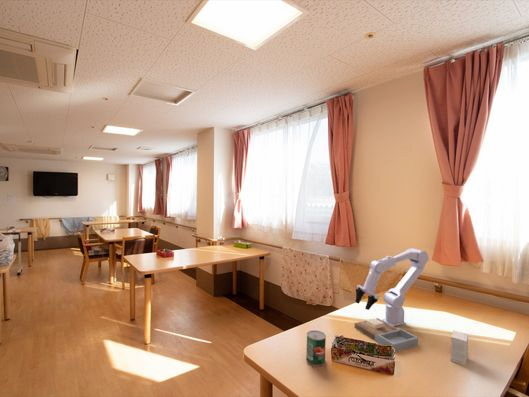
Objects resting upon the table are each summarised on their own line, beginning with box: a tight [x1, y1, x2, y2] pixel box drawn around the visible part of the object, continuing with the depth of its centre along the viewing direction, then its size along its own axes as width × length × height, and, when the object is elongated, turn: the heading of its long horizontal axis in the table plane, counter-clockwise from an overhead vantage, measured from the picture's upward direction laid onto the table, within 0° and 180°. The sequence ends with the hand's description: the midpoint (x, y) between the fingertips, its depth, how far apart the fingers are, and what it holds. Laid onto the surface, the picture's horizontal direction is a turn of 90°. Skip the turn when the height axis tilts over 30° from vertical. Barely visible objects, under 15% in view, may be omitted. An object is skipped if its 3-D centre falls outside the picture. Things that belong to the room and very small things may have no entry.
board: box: [354, 318, 400, 341], centre depth 148 cm, size 16×14×2 cm
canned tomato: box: [305, 330, 327, 367], centre depth 120 cm, size 8×8×11 cm
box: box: [374, 328, 419, 353], centre depth 136 cm, size 16×11×4 cm
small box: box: [450, 330, 469, 367], centre depth 123 cm, size 8×6×10 cm
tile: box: [365, 317, 384, 329], centre depth 149 cm, size 6×6×2 cm
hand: (361, 306), depth 154 cm, fingers open, 7 cm apart
